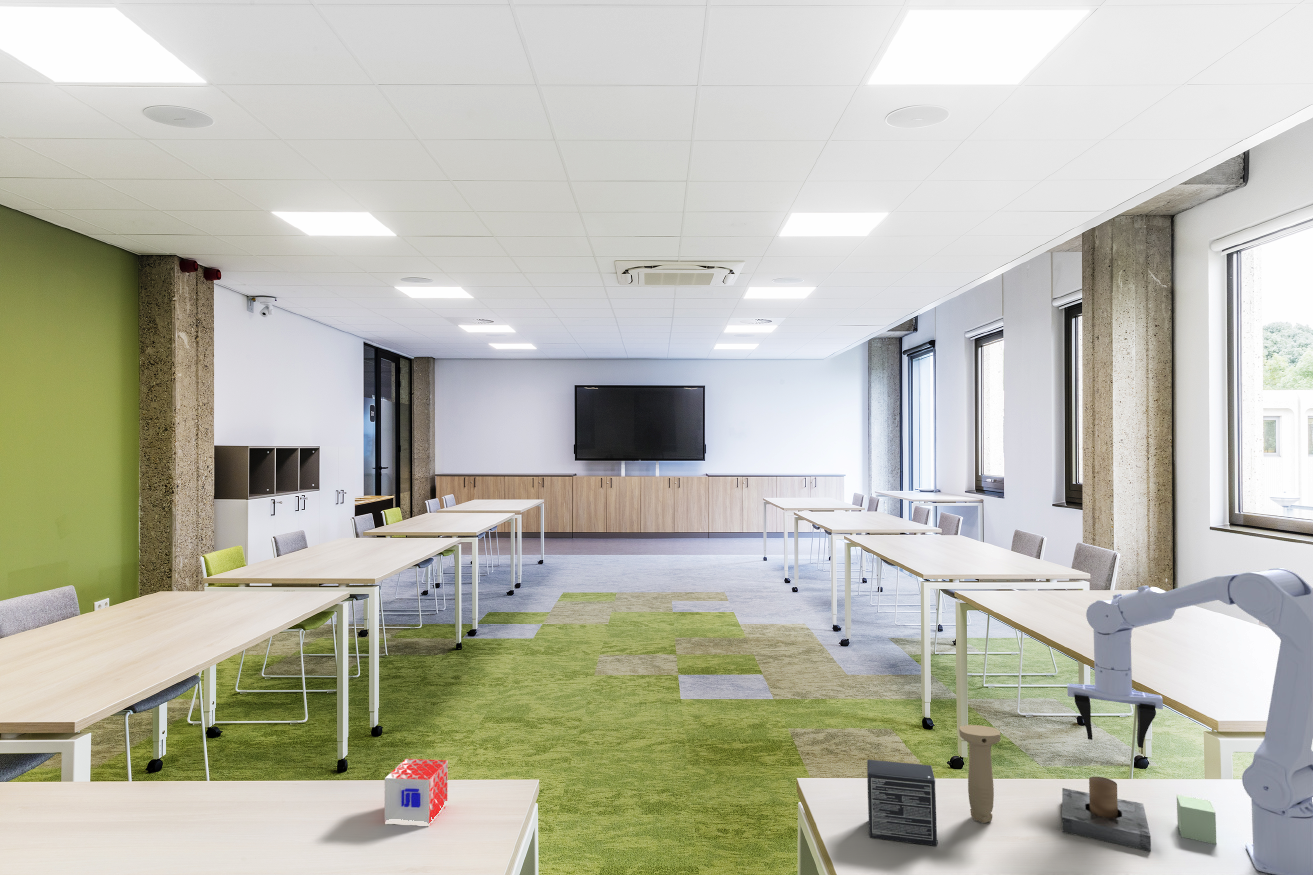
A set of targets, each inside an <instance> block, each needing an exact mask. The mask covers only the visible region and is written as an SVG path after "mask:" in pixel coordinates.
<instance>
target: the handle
mask: <svg viewBox="0 0 1313 875" xmlns="http://www.w3.org/2000/svg"><path fill="white" fill-rule="evenodd" d="M958 730H959V732H958V733H959V736H960V738H961V739H962V740H963V741H965V742H967V743H968V747H969V749H968V750H969V752H968V753H969V754H968V756H969V757H968V774H967V775H968V776H967V777H968V779H967V782H968V783H967V788H968V789H967V790H968V792H967V793H968V802H969V806H970V809H969V810H970V816H971V817H972V819H973V821H974V822H979V823H982V824H987V823H991V822H992V821H993V813H992V812H993V809H994V797H995V792H994V790H995V789H994V788H995V787H994V778H993V777H994V775H993V767H992V766H993V764H992V746H993V745H995V744H997V743H1000V741H1001V731H1000V730H998V729H997V728H995V727H991V726H988V725H987V726H986V725H978V724H977V725H976V724H967V725H960V726H959V729H958Z"/></svg>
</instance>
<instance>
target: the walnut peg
mask: <svg viewBox="0 0 1313 875" xmlns="http://www.w3.org/2000/svg"><path fill="white" fill-rule="evenodd" d="M1088 784H1089V788H1088V791H1089V792H1088V793H1089V800H1090V812H1091V813H1093V814H1095V815H1097V816H1101V817H1106V818H1111V819H1113V818H1118V804H1117V799H1118V783H1117V782H1116V781H1115V780H1112V779H1110V778H1107V777H1104V776H1090V777H1089V778H1088Z"/></svg>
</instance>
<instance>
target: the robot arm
mask: <svg viewBox="0 0 1313 875" xmlns="http://www.w3.org/2000/svg"><path fill="white" fill-rule="evenodd" d="M1136 589H1137V590H1136V591H1134V592H1130V593H1127V594H1123V595H1122V594H1121V593H1117V594H1113V595H1112V599H1107V600H1100V599H1099V600H1096V601H1095V602H1092V603H1091V604H1089V605H1088V607H1087V609H1086V612H1085V614H1086V615H1085V616H1086V621H1087V622H1088V625H1089V626H1090V627H1091V628H1092V629H1093V654H1094V656H1093V657H1094V660H1093V661H1094V663H1093V664H1094V684H1082V683H1080V684H1079V683H1069V682H1068V683H1067V686H1066V687H1067V688H1066V689H1067V697H1070V698H1074V703H1075V706H1076V709H1078V711H1079V714H1080V715H1081V719H1082V720H1083V723H1084V726H1085V730H1086V733H1087V734H1086V735H1087V740H1089V741H1090V740H1091V741H1092V740H1093V730H1092V714H1091V713H1092V712H1091V711H1092V707H1091V699H1093V700H1099V701H1106V702H1107V701H1108V702H1113V703H1114V702H1115V703H1120V704H1121V703H1122V704H1130V705H1136V713H1137V730H1136V731H1137V732H1136V743H1137V748H1140V749H1144V744H1145V738H1146V735H1147V733H1148V729H1149V727H1150V726H1151V724H1152V723H1153V720H1154V719H1155V717H1156V716H1157V710H1163V709H1164V704H1163V703H1164V702H1163V701H1164V699H1163V696H1162V695H1160V694H1154V693H1149V692H1146V691H1145V692H1144V691H1139V690H1135V689H1133V675H1132V674H1133V672H1132V671H1133V670H1132V669H1133V668H1132V631H1133V629H1134V628H1139V627H1144V626H1148V625H1152V624H1156V623H1160V622H1161V623H1162V622H1165V621H1169V620H1171V619H1172V618H1173V616H1174V614H1175V612H1176V610H1178V609H1182V608H1187V607H1191V606H1197V605H1200V604H1201V605H1202V604H1206V603H1210V602H1215V601H1219V602H1222V603H1223V604H1226V605H1229V606H1231V605H1232V606H1233V605H1236V606H1237V607H1238V608H1239V609H1240V610H1242V611H1243V612H1245V613H1246V614H1247V615H1249V616H1251V617H1252V618H1255V619H1256V620H1258V621H1259V622H1261V623H1262V624H1264V625H1266V626H1267V627H1268V628H1269V629H1270V630H1271V631H1272V632H1273V633H1274V634H1275V635H1276V636H1277V637H1278V638H1279V640H1280V645H1279V650H1278V656H1277V662H1276V668H1275V674H1274V680H1273V684H1272V691H1271V697H1270V704H1269V710H1268V716H1267V719H1266V720H1267V721H1266V727H1265V733H1264V738H1263V740H1262V742H1261V743H1260V745H1259V746H1258V747H1257V749H1256V751H1255V752H1254V754H1253V758H1252V762H1251V764H1250V765H1249V766H1248V767H1247V768H1245V770H1243V773H1242V776H1241V782H1242V786H1243V789H1244V790H1245V793H1247V795H1248V797H1249V798H1251V799H1250V800H1251V822H1252V823H1251V824H1252V843H1248V842H1247V843H1245V845H1244V846H1245V848H1246V851H1247V852H1248V854H1249V858H1250V860H1251V861H1252V864H1253V866H1254V868H1255V869H1256V871H1259V872H1260V873H1261V872H1263V873H1266V874H1272V875H1313V750H1312V745H1313V587H1312V586H1311V585H1310V584H1309V582H1306V581H1305V579H1304V578H1302V577H1301V576H1300V575H1299V574H1298V573H1296V572H1294V571H1293V570H1289V569H1287V568H1282V567H1281V568H1280V567H1276V568H1269V569H1267V570H1263V571H1260V570H1259V571H1248V572H1247V571H1246V572H1242V573H1241V572H1240V573H1231V574H1230V573H1229V574H1223V575H1217V576H1213V577H1210V578H1207V579H1203V580H1199V581H1197V582H1193V583H1191V584H1190V583H1189V584H1187V585H1184V586H1181V587H1177V588H1174V589H1170V590H1168V591H1166V590H1165V589H1162V588H1160V587H1157V586H1151V587H1150V586H1149V585H1141V586H1139V587H1136ZM1156 709H1157V710H1156Z"/></svg>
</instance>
